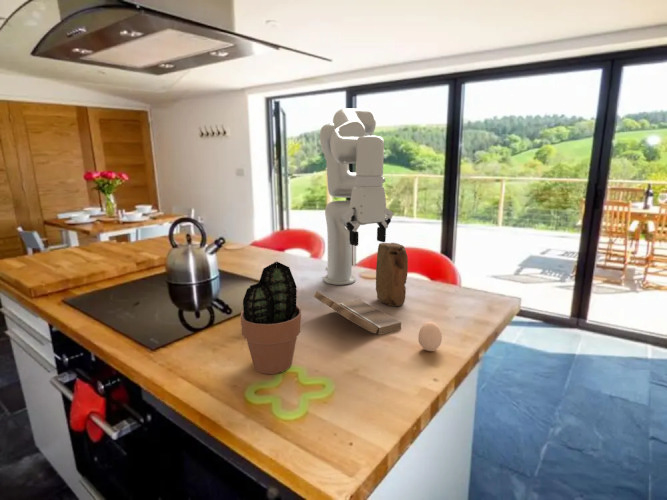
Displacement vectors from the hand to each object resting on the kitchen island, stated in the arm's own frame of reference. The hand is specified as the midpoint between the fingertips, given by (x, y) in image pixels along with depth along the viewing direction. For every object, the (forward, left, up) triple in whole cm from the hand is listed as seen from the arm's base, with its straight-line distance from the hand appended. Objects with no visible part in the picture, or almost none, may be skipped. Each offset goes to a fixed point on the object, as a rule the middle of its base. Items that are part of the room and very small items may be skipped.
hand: (367, 243), depth 111 cm
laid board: (-1, +2, -24) cm, 24 cm away
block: (-9, +16, -24) cm, 30 cm away
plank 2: (+4, -8, -20) cm, 22 cm away
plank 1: (-6, -8, -20) cm, 23 cm away
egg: (+23, +3, -24) cm, 33 cm away
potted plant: (+10, -34, -24) cm, 43 cm away
